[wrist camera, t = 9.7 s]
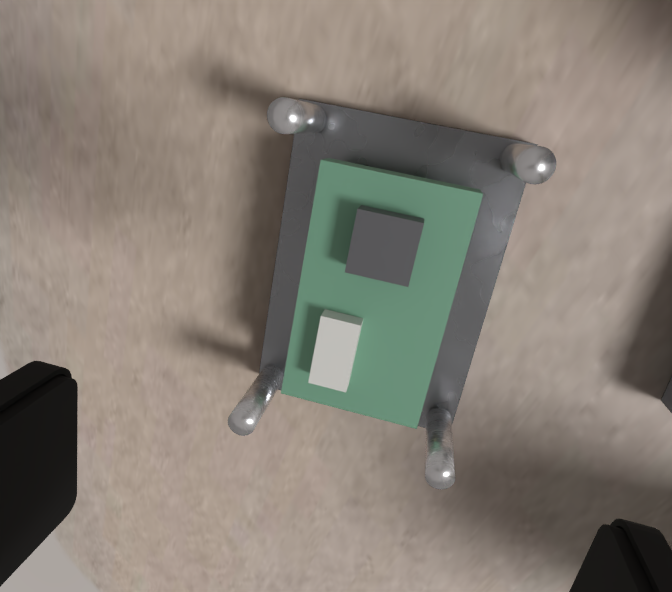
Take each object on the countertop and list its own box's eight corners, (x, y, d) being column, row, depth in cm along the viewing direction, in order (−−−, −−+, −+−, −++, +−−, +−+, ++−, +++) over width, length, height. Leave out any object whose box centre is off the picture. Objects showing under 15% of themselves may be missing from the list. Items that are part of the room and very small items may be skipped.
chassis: (304, 100, 22) (267, 90, 17) (533, 143, 21) (565, 147, 16) (263, 375, 27) (223, 432, 22) (448, 423, 26) (452, 495, 21)
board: (328, 157, 20) (314, 161, 18) (479, 189, 19) (486, 197, 17) (289, 377, 23) (274, 404, 21) (417, 410, 23) (416, 442, 20)
